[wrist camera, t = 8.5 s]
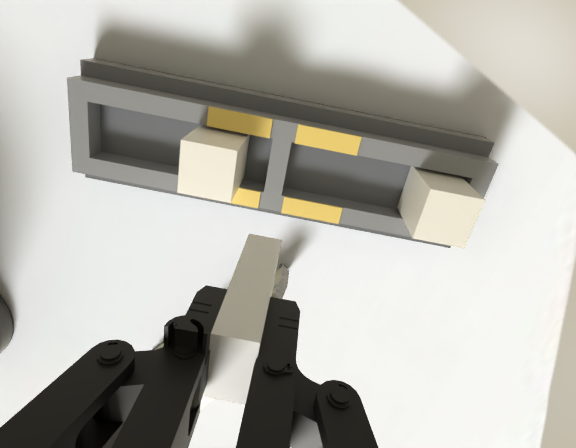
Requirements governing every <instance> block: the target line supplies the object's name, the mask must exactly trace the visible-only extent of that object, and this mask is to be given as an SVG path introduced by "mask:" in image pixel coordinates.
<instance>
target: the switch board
mask: <svg viewBox="0 0 576 448" xmlns="http://www.w3.org/2000/svg"><path fill="white" fill-rule="evenodd" d="M80 62H81V76H75V77H68V78H67V86H68V103H69V120H70V137H71V154H72V171H73V172H78V173H83V174H85V176H86V177H87V178H92V179H98V180H103V181H108V182H113V183H118V184H123V185H129V186H134V187H139V188H144V189H149V190H154V191H159V192H165V193H170V194H175V195H180V196H185V197H190V198H196V199H201V200H206V201H211V202H216V203H221V204H226V205H232V206H237V207H242V208H247V209H252V210H257V211H263V212H268V213H273V214H278V215H283V216H288V217H293V218H299V219H304V220H309V221H314V222H319V223H324V224H329V225H335V226H340V227H345V228H350V229H355V230H360V231H366V232H371V233H376V234H381V235H386V236H391V237H396V238H402V239H407V240H412V241H417V242H422V243H427V244H433V245H438V246H443V247H448V248H450V247H451V246H449V245H444V244H439V243H434V242H428V241H423V240H418V239H413V238H412V236H411V234H410V232H409V230H408V228H407V226H406V224H405V222H404V220H403V218H402V216H401V214H400V212H399V210H398V208H397V206H398V203H399V200H400V197H401V194H402V191H403V188H404V185H405V182H406V179H407V176H408V173H409V170H410V167H411V166H414V167H419V168H424V169H429V170H434V171H439V172H444V173H449V174H454V175H459V176H461V177H462V178H463V179H464V180H465V181H466V182H467V183H468V184H469V185H470V186H471V187H473V188H474V189H475V190H476V191H477V192H478V193H479V194H480V195H481V196H482V197H483V198H484V196H485V194H486V192H487V189H488V187H489V185H490V182H491V180H492V178H493V175H494V173H495V171H496V169H497V166H498V163H496V162H495V161H493V160H492V159H490V158H489V154H490V152H491V149H492V147H493V145H494V143H493V142H492V141H490V140H488V139H487V138H485V137H480V136H475V135H470V134H465V133H460V132H455V131H451V130H446V129H441V128H436V127H431V126H426V125H421V124H416V123H411V122H406V121H401V120H396V119H391V118H386V117H381V116H376V115H371V114H366V113H361V112H356V111H351V110H346V109H341V108H336V107H331V106H326V105H321V104H317V103H312V102H307V101H302V100H297V99H292V98H287V97H282V96H277V95H272V94H267V93H262V92H257V91H252V90H247V89H242V88H237V87H232V86H227V85H222V84H217V83H212V82H207V81H202V80H197V79H192V78H188V77H183V76H178V75H173V74H168V73H163V72H158V71H153V70H148V69H143V68H138V67H133V66H128V65H123V64H118V63H113V62H108V61H103V60H98V59H82V60H80ZM201 124H203V125H207V126H209V127H214V128H219V129H225V130H230V131H235V132H240V133H245V134H250V138H249V145H248V152H247V159H246V166H245V173H244V178H243V180H242V182H241V184H240V186H239V188H238V190H237V192H236V194H235V196H234V198H233V200H232V202H231V203H228V202H223V201H217V200H212V199H207V198H202V197H197V196H192V195H187V194H181V193H177V189H178V174H179V158H180V143H181V139H182V138H184V137H185V136H186V135H188V134H189V133H190V132H191V131H193V130H194V129H195V128H197V127H198V126H199V125H201Z"/></svg>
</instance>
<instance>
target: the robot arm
mask: <svg viewBox="0 0 576 448" xmlns="http://www.w3.org/2000/svg"><path fill="white" fill-rule="evenodd" d="M281 242H282V240H279V239H274V238H269V237H263V236H258V235H253V234H249V235H248V238H247V241H246V243H245V246H244V248H243V251H242V254H241V256H240V259H239V261H238V264H237V267H236V269H235V272H234V274H233V277H232V280H231V282H230V285H229V287H228V290H227V289H222V288H217V287H211V286H205V287H203V288H202V289H201V290H199V291H198V292H197V293H196V295H195V297H194V299H193V301H192V303H191V305H190V307H189V310H188V311H187V313H186V315H184V316H179V317H175V318H173V319H171V320H169V321H168V322H167V324H166V325H165V326H164V347H162V348H159V349H156V350H149V351H136V352H135V351H134V349H133V347H132V345H130V344H129V343H127V342H126V341H121V340H108V341H105V342H102V343H99V344H98V345H96V346H94V347H93V348H91V349H90V350H89V351H88V352H87V353H86V354H85V355H83V356H82V357H81V358H80V359H79V360H78V361H77V362H75V363H74V364H73V365H72V366H71V367H70V368H68V369H67V370H66V371H65V372H64V373H63V374H62V375H60V376H59V377H58V378H57V379H56V380H55V381H53V382H52V383H51V384H50V385H49V386H48V387H47V388H45V389H44V390H43V391H42V392H41V393H40V394H39V395H37V396H36V397H35V398H34V399H33V400H32V401H30V402H29V403H28V404H27V405H26V406H25V407H24V408H22V409H21V410H20V411H19V412H18V413H17V414H15V415H14V416H13V417H12V418H11V419H10V420H9V421H7V422H6V423H5V424H4V425H3V426H2V427H0V448H188V446H189V443H190V440H191V437H192V434H193V431H194V428H195V425H196V422H197V419H198V416H199V413H200V405H201V399H202V396H203V393H204V391H205V394H204V397H208V398H213V399H218V400H223V401H229V402H234V403H239V404H244V405H245V409H244V413H243V418H242V423H241V427H240V432H239V436H238V441H237V445H236V448H290V447H291V448H378V446H377V443H376V440H375V437H374V435H373V432H372V429H371V426H370V424H369V421H368V418H367V415H366V413H365V410H364V407H363V404H362V402H361V399H360V397H359V395H358V393H357V392H356V390H354V389H353V388H352V387H351V386H350V385H348V384H346V383H344V382H342V381H336V380H331V381H326V382H324V383H323V384H321V385H319V384H317V383H315V382H313V381H311V380H310V379H308V378H306V377H305V376H304V375H303V374H302V373H301V372H300V370H299V369H298V367H297V364H296V350H297V339H298V328H299V317H300V310H299V308H298V306H297V304H296V302H295V301H290V300H285V299H279V298H274V297H271V296H272V291H273V286H274V280H275V275H276V269H277V264H278V259H279V253H280V248H281ZM12 333H13V323H12V318H11V315H10V312H9V310H8V308H7V306H6V304H5V302H4V301H3V299H2V298H1V297H0V353H1V352H2V351H3V350H4V349H5V348H6V347H7V346H8V344H9V343H10V340H11V338H12Z"/></svg>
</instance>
